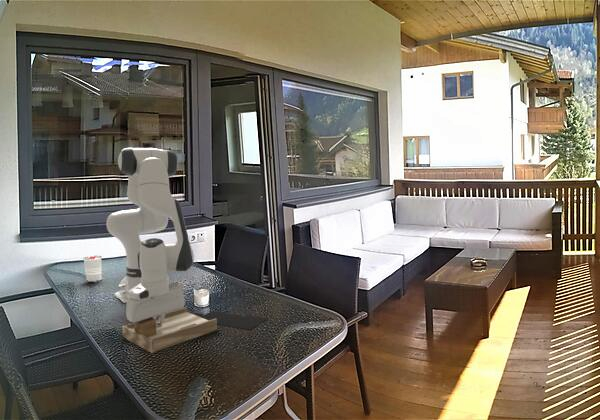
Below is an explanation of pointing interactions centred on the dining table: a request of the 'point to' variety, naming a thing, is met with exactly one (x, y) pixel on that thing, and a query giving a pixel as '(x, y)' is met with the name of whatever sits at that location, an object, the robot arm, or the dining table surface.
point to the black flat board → (233, 320)
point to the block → (146, 327)
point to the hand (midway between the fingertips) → (158, 327)
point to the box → (171, 330)
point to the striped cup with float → (93, 268)
